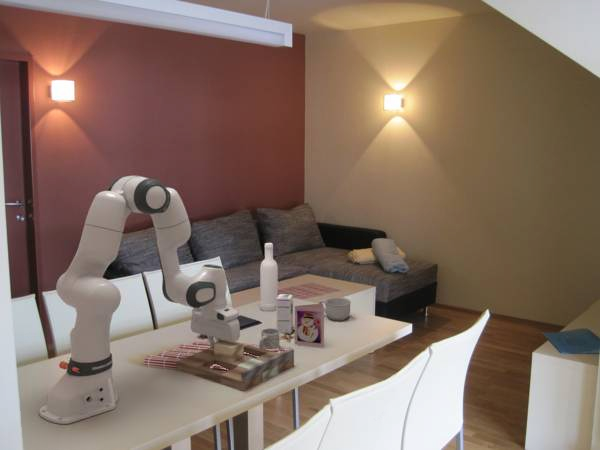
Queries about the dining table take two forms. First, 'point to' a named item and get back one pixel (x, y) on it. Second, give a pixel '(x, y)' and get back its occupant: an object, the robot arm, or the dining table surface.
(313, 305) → the greeting card
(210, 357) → the board
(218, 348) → the birch block
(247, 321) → the wallet
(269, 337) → the mug
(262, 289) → the bottle
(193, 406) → the dining table surface
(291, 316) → the syrup box
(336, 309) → the teacup
